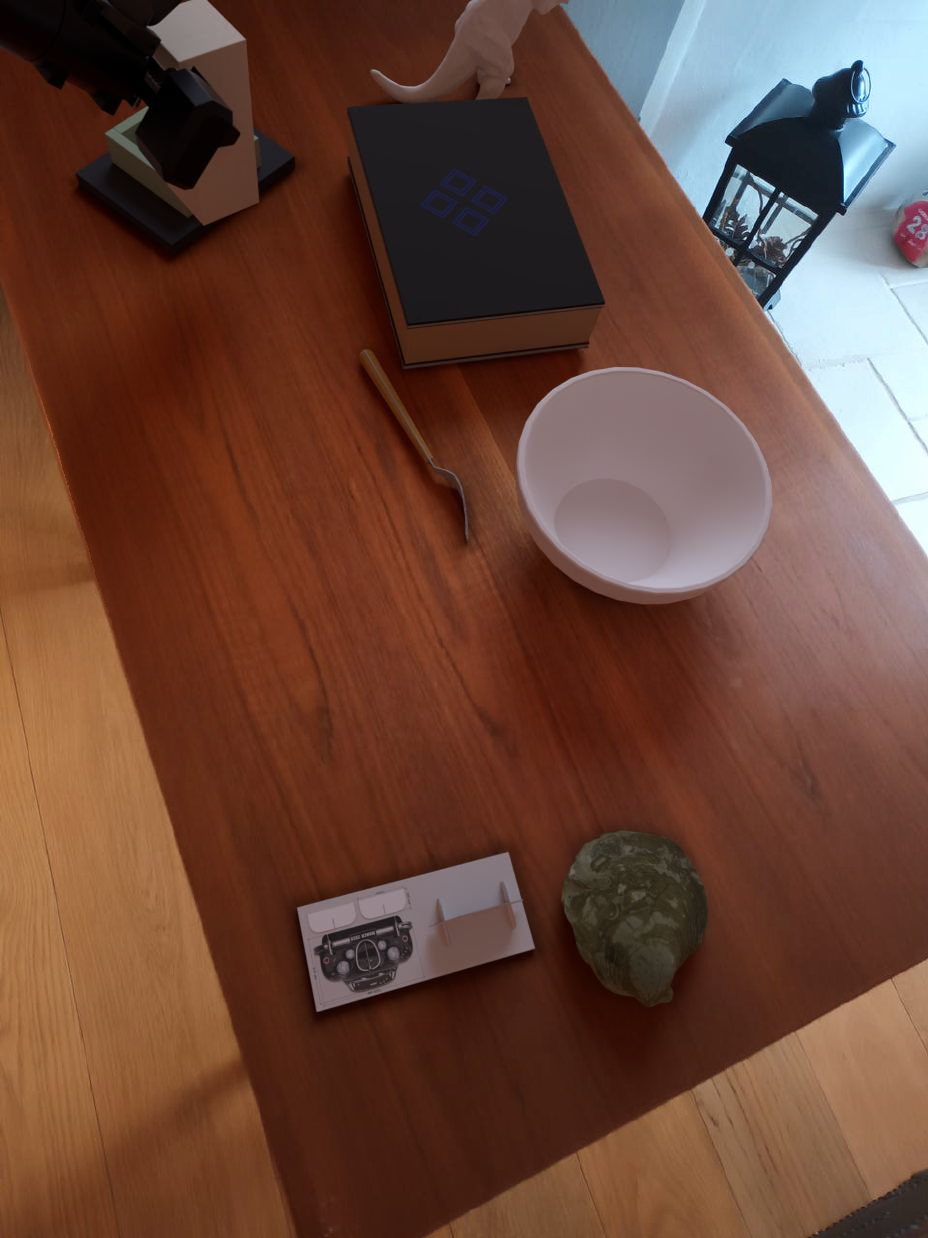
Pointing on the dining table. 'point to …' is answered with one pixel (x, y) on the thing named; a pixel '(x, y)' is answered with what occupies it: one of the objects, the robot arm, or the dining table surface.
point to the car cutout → (413, 930)
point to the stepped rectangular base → (162, 185)
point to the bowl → (641, 485)
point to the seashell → (635, 912)
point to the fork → (405, 419)
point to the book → (470, 231)
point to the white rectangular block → (223, 63)
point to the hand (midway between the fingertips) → (216, 114)
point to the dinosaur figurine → (475, 51)
